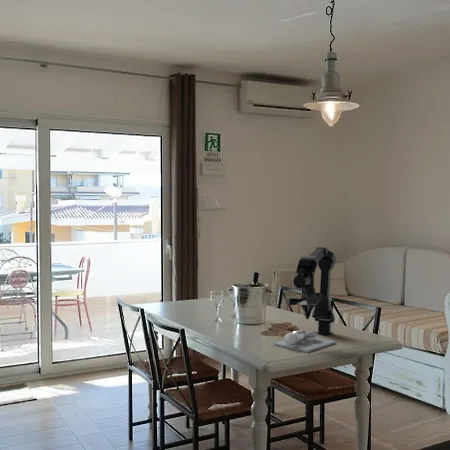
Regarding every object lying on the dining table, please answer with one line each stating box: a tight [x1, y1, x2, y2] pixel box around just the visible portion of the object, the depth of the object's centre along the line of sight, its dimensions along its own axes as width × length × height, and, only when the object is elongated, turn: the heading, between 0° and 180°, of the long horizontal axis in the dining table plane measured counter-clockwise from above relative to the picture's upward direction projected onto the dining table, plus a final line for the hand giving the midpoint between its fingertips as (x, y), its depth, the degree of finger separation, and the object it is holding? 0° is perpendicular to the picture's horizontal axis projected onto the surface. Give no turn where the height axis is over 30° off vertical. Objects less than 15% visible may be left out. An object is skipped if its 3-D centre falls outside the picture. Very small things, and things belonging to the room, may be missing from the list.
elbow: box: [292, 329, 318, 343], centre depth 254 cm, size 15×8×5 cm, turn 136°
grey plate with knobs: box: [273, 333, 337, 354], centre depth 253 cm, size 23×18×6 cm
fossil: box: [260, 322, 301, 338], centre depth 276 cm, size 20×16×5 cm
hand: (307, 319), depth 253 cm, fingers closed
